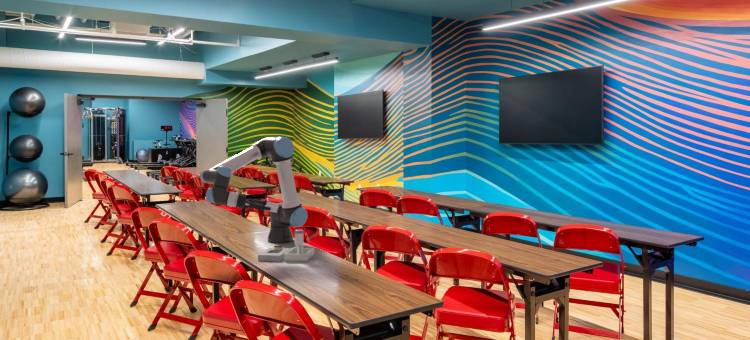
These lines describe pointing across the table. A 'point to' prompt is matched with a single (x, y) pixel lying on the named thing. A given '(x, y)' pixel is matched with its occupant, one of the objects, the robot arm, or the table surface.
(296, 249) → the shiny metal cylinder
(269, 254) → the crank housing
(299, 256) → the parts tray
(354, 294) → the table surface
